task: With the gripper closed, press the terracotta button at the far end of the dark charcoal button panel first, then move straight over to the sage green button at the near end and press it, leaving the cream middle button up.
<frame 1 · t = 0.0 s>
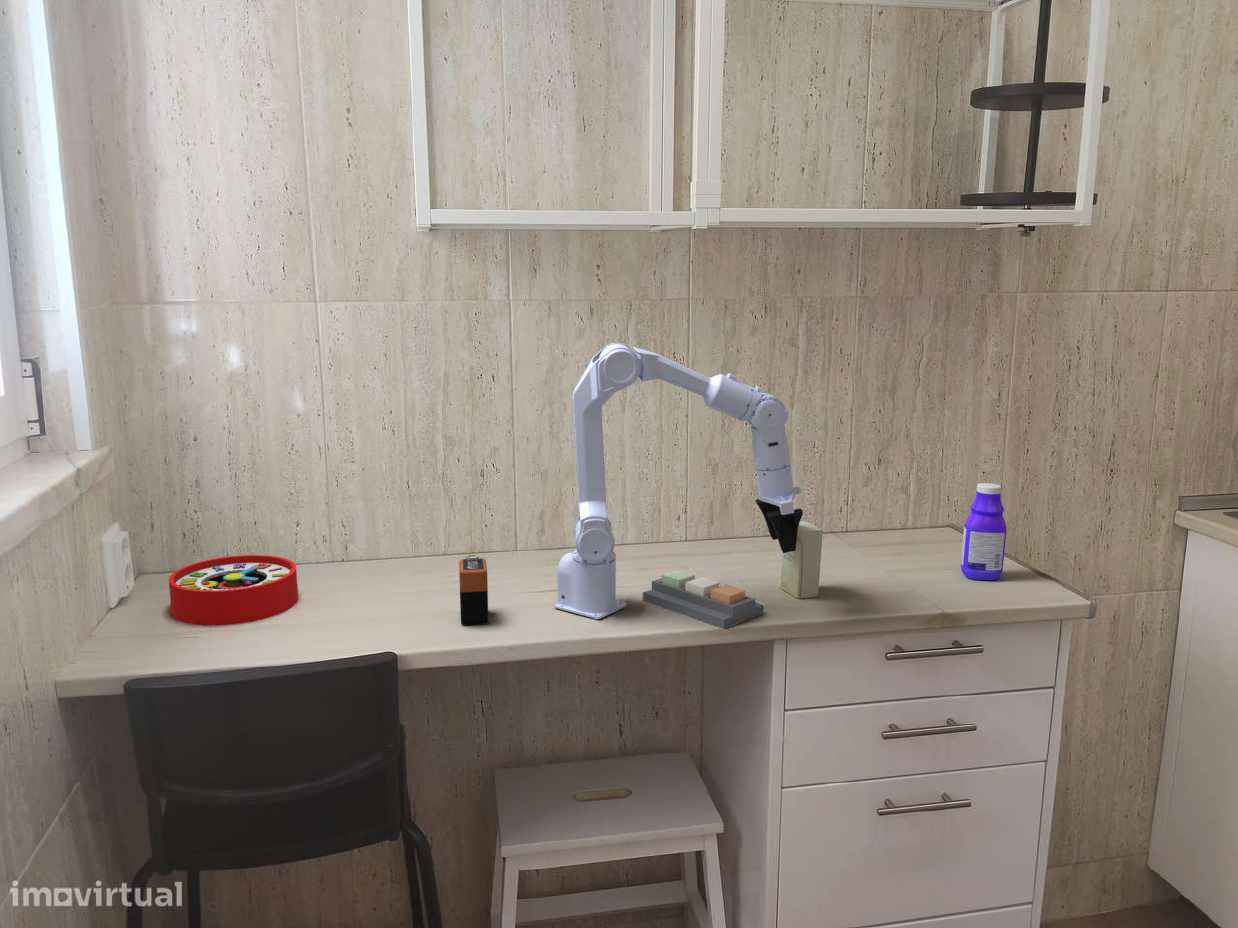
hand: (783, 544, 164), 11 cm above the worktop, tool pointing down, fingers open, 7 cm apart
skincare box: (799, 593, 173), on the worktop
button panel: (701, 606, 165), on the worktop
cream button: (702, 586, 165), point 4 cm above the worktop, slide at 0.0 cm
terracotta button: (727, 594, 161), point 4 cm above the worktop, slide at 0.0 cm
green button: (678, 579, 169), point 3 cm above the worktop, slide at 0.0 cm
bottle: (981, 577, 182), on the worktop
toy clock: (236, 606, 166), on the worktop
battery: (474, 619, 160), on the worktop
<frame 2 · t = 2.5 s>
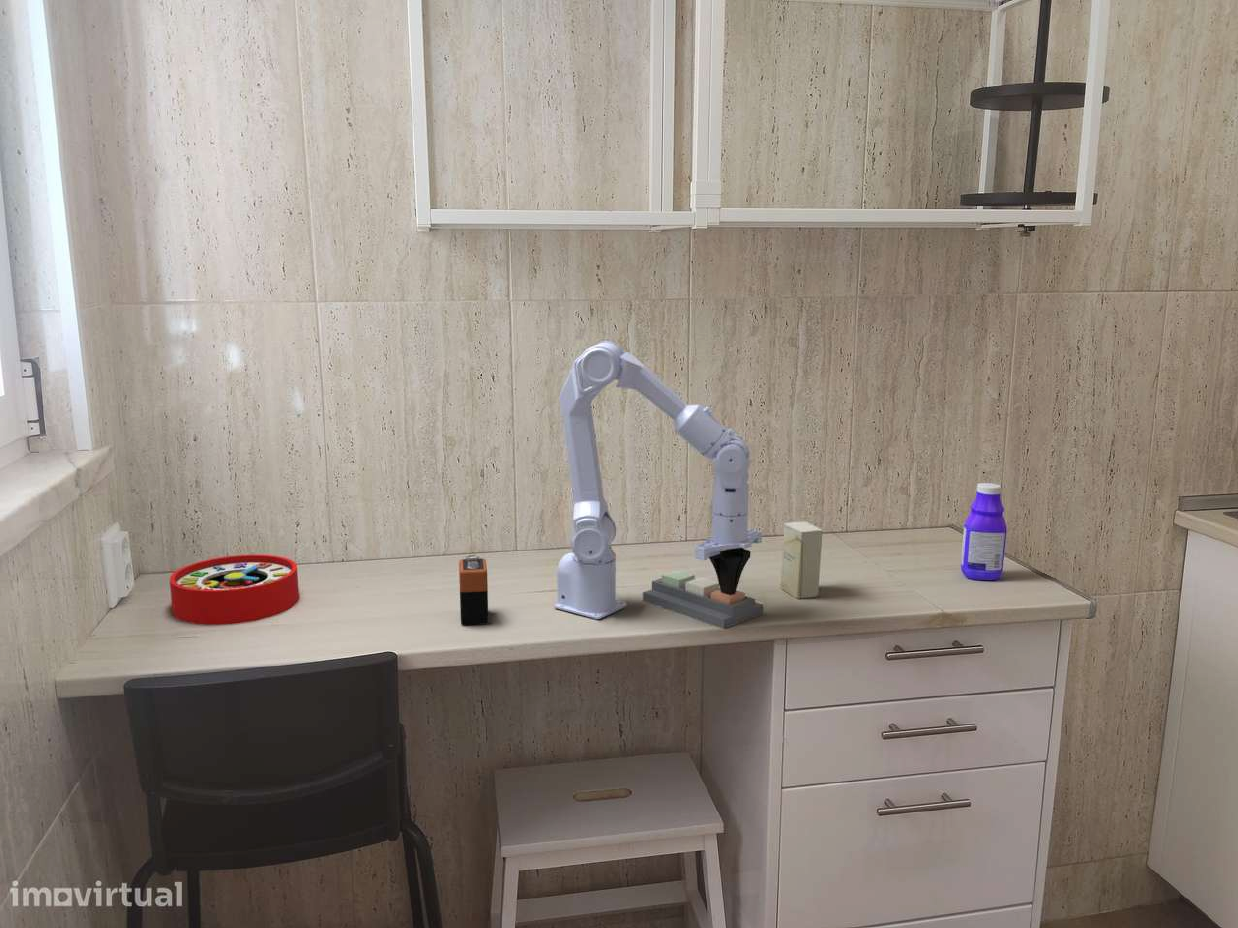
hand: (728, 592, 161), 4 cm above the worktop, tool pointing down, fingers closed, pressing on terracotta button
terracotta button: (727, 597, 161), point 3 cm above the worktop, slide at 0.4 cm, touching gripper
everything else where it was.
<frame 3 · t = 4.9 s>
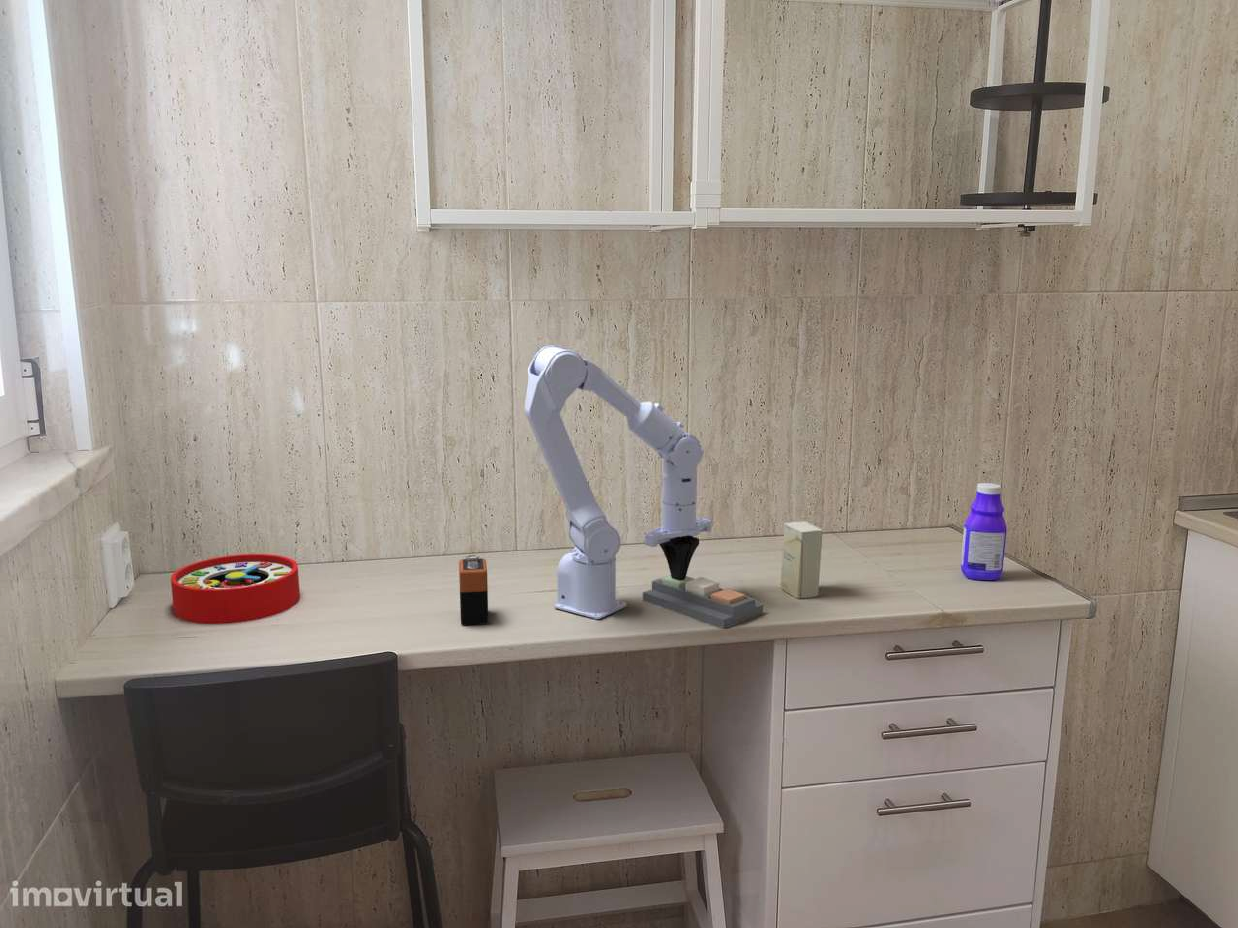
hand: (678, 578, 169), 4 cm above the worktop, tool pointing down, fingers closed, pressing on green button
terracotta button: (727, 599, 161), point 3 cm above the worktop, slide at 0.7 cm
green button: (678, 582, 169), point 3 cm above the worktop, slide at 0.6 cm, touching gripper
everything else where it was.
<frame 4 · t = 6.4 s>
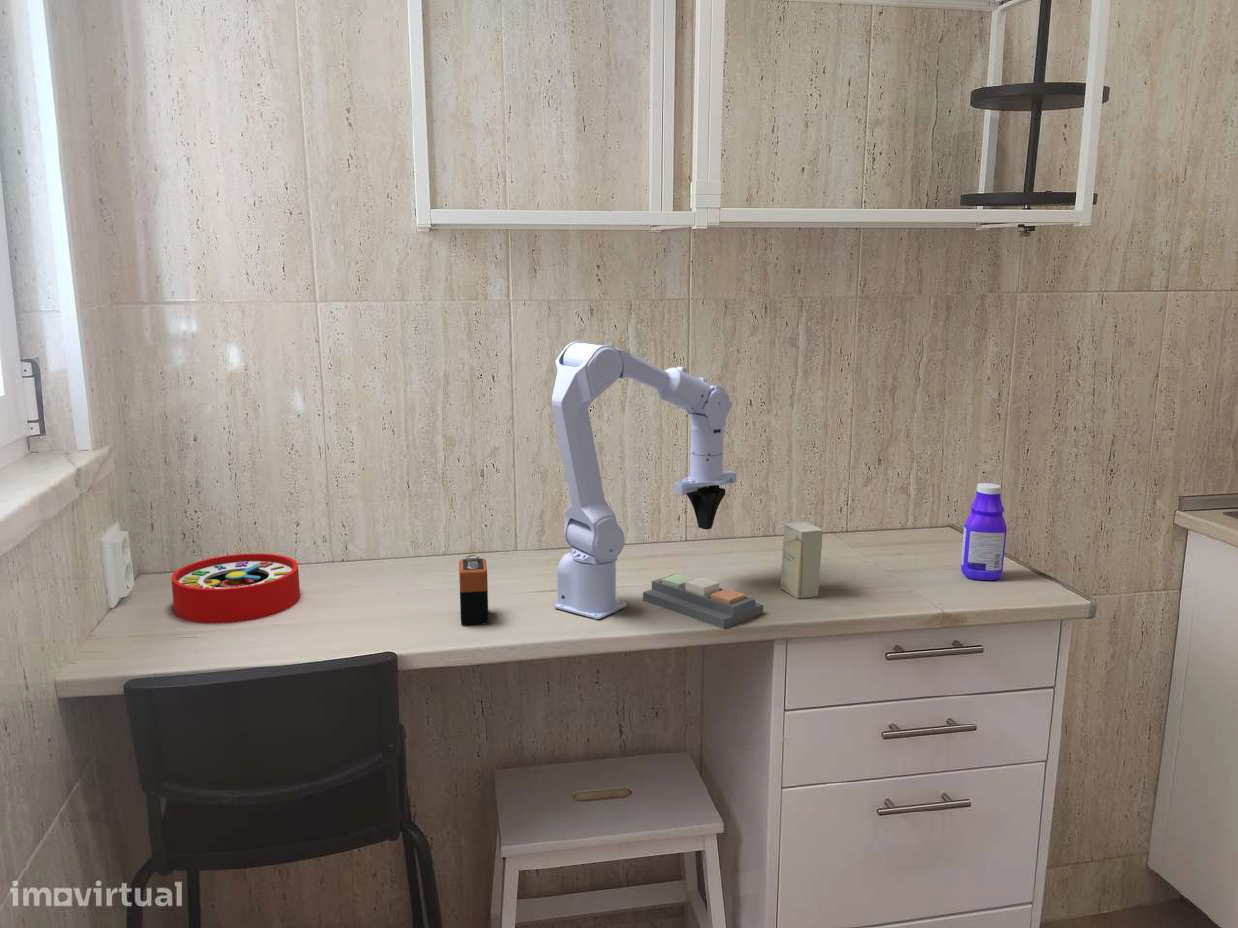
hand: (705, 528, 175), 10 cm above the worktop, tool pointing down, fingers closed
green button: (678, 583, 169), point 3 cm above the worktop, slide at 0.7 cm
everything else where it was.
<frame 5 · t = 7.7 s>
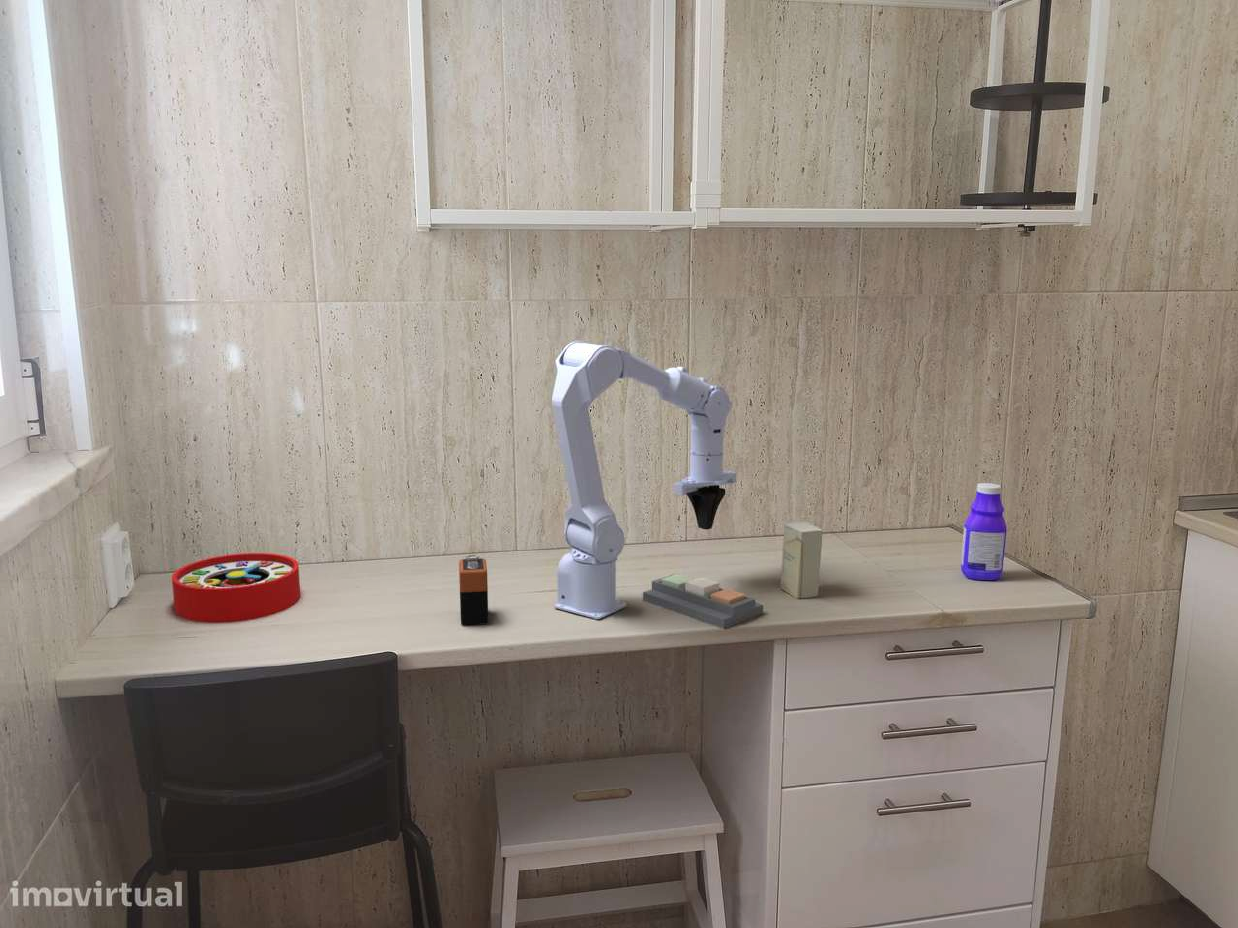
hand: (705, 528, 175), 10 cm above the worktop, tool pointing down, fingers closed
at the end: terracotta button slide at 0.7 cm; green button slide at 0.7 cm; cream button slide at 0.0 cm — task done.
